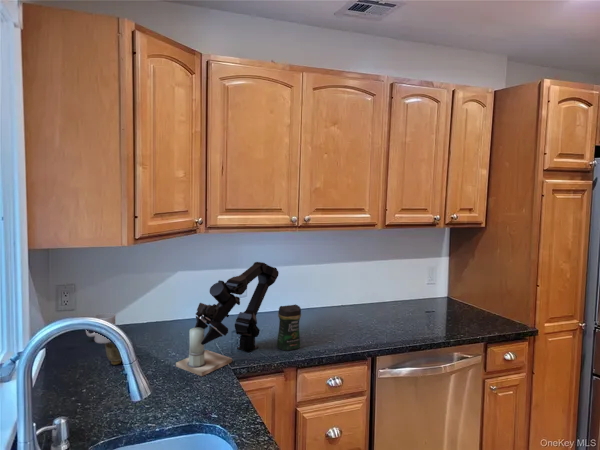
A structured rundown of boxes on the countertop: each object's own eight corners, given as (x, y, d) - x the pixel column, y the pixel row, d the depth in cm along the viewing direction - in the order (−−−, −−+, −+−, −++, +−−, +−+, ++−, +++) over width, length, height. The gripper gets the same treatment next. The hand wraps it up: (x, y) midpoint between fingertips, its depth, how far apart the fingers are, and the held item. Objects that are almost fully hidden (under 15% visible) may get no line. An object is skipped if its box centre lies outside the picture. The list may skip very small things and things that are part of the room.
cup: (120, 358, 175) (120, 338, 174) (130, 363, 170) (130, 343, 169) (101, 363, 169) (101, 343, 168) (111, 369, 165) (111, 348, 164)
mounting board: (206, 353, 182) (206, 342, 181) (231, 361, 174) (232, 350, 174) (175, 366, 169) (175, 354, 168) (201, 376, 161) (201, 363, 160)
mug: (112, 335, 199) (112, 311, 198) (118, 340, 193) (117, 316, 192) (83, 340, 192) (83, 316, 191) (88, 346, 185) (88, 321, 184)
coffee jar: (282, 352, 185) (283, 309, 183) (274, 346, 192) (275, 304, 190) (303, 348, 190) (304, 306, 188) (294, 342, 196) (295, 301, 194)
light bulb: (197, 358, 172) (197, 326, 171) (207, 362, 169) (207, 329, 167) (185, 363, 167) (185, 330, 166) (196, 367, 164) (196, 333, 163)
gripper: (200, 289, 176) (173, 321, 171) (220, 301, 161) (192, 336, 156) (218, 306, 181) (192, 337, 176) (239, 318, 166) (212, 353, 161)
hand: (196, 340), depth 167 cm, fingers open, 9 cm apart
